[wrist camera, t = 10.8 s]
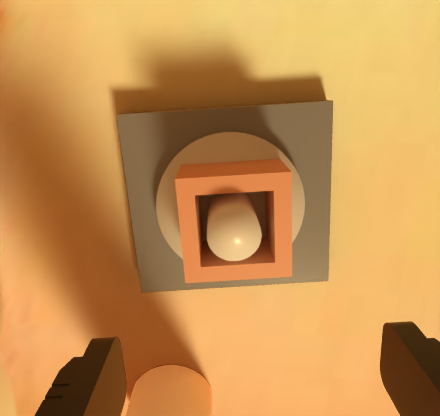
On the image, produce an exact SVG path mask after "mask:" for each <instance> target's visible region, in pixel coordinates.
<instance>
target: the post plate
mask: <svg viewBox="0 0 440 416" xmlns="http://www.w3.org/2000/svg"><path fill="white" fill-rule="evenodd" d="M117 122H118V129H119V136H120V143H121V150H122V157H123V164H124V171H125V178H126V185H127V192H128V200H129V207H130V214H131V221H132V228H133V235H134V242H135V249H136V256H137V263H138V270H139V277H140V284H141V291H142V293H143V292H159V291H175V290H191V289H207V288H223V287H239V286H255V285H272V284H288V283H304V282H320V281H328V271H329V234H330V197H331V160H332V123H333V101H330V100H320V101H305V102H289V103H274V104H259V105H243V106H228V107H213V108H197V109H182V110H167V111H151V112H136V113H122V114H118V115H117ZM265 159H281V160H282V161H283V163H284V164H285V165H286V166H287V167H288V168H289V169H290V170H291V171H292V277H280V278H264V279H247V280H231V281H215V282H198V283H185V275H184V265H183V255H182V245H181V235H180V225H179V215H178V205H177V195H176V185H175V178H176V175H177V173H178V171H179V169H180V166H181V165H186V164H202V163H218V162H234V161H249V160H265ZM199 201H200V213H201V225H202V238H203V241H207V242H208V245H209V247H210V249H211V250H212V251H213V253H214V254H215V255H217V256H218V257H220V258H222V259H224V260H228V261H240V260H244V259H246V258H248V257H250V256H251V255H252V254H253V253H255V251H256V250H257V249H258V247H259V245H260V242H261V238H262V237H266V201H265V191H259V192H243V193H227V194H211V195H199Z"/></svg>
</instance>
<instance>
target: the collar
mask: <svg viewBox="0 0 440 416" xmlns="http://www.w3.org/2000/svg"><path fill="white" fill-rule="evenodd" d="M175 185H176V195H177V205H178V215H179V225H180V235H181V245H182V255H183V265H184V275H185V283H198V282H215V281H231V280H247V279H264V278H280V277H292V171H291V170H290V169H289V168H288V167H287V166H286V165H285V164H284V163H283V161H282V160H281V159H265V160H249V161H234V162H218V163H202V164H186V165H181V166H180V169H179V171H178V173H177V175H176V178H175ZM259 191H265V201H266V237H262V238H261V242H260V245H259V247H258V249H257V250H256V251H255V253H253V254H252V255H251V256H250V257H248V258H246V259H244V260H240V261H228V260H224V259H222V258H220V257H218V256H217V255H215V254H214V253H213V251H212V250H211V249H210V247H209V245H208V242H207V241H203V238H202V225H201V213H200V201H199V195H211V194H227V193H243V192H259Z"/></svg>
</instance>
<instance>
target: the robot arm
mask: <svg viewBox="0 0 440 416" xmlns="http://www.w3.org/2000/svg"><path fill="white" fill-rule="evenodd" d="M380 373H381V378H382V381H383V384H384V387H385V389H386V391H387V392H388V394H389V396H390V398H391V400H392V401H393V403H394V405H395V407H396V409H397V410H398V412H399V414H400V416H440V342H439V341H438V340H436V339H435V338H426V337H425V335H424V334H423V333H422V332H421V331H420V329H419V328H418V327H417V326H416V325H415V324H414V323H413V322H393V323H385V324H384V326H383V333H382V346H381V358H380ZM126 388H127V382H126V374H125V368H124V362H123V356H122V350H121V344H120V340H119V338H118V337H114V338H96V339H92V340H91V341H90V343H89V345H88V347H87V349H86V351H85V353H84V355H83V357H74V358H72V359H71V360H70V361H69V362H68V363H67V364H66V365H65V366H64V367H63V368H62V369H61V370H60V371H59V373H58V374H57V376H56V378H55V380H54V382H53V383H52V387H51V388H50V389H49V391H48V392H47V394H46V396H45V400H43V401H42V403H41V405H40V407H39V409H38V410H37V412H36V414H35V416H121V412H122V409H123V405H124V402H125V398H126Z"/></svg>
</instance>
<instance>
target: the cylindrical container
mask: <svg viewBox="0 0 440 416" xmlns="http://www.w3.org/2000/svg"><path fill="white" fill-rule="evenodd" d="M126 416H213V393H212V390H211V387H210V385H209V383H208V382H207V380H206V379H205V378H204V377H203V376H202V375H200V374H199V373H197V372H196V371H194V370H192V369H190V368H187V367H184V366H179V365H164V366H159V367H155V368H153V369H151V370H149V371H147V372H146V373H144V374H143V375H142V376H141V377H140V378H139V379H138V380H137V382H136V383H135V385H134V387H133V391H132V394H131V398H130V402H129V405H128V409H127V413H126Z"/></svg>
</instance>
